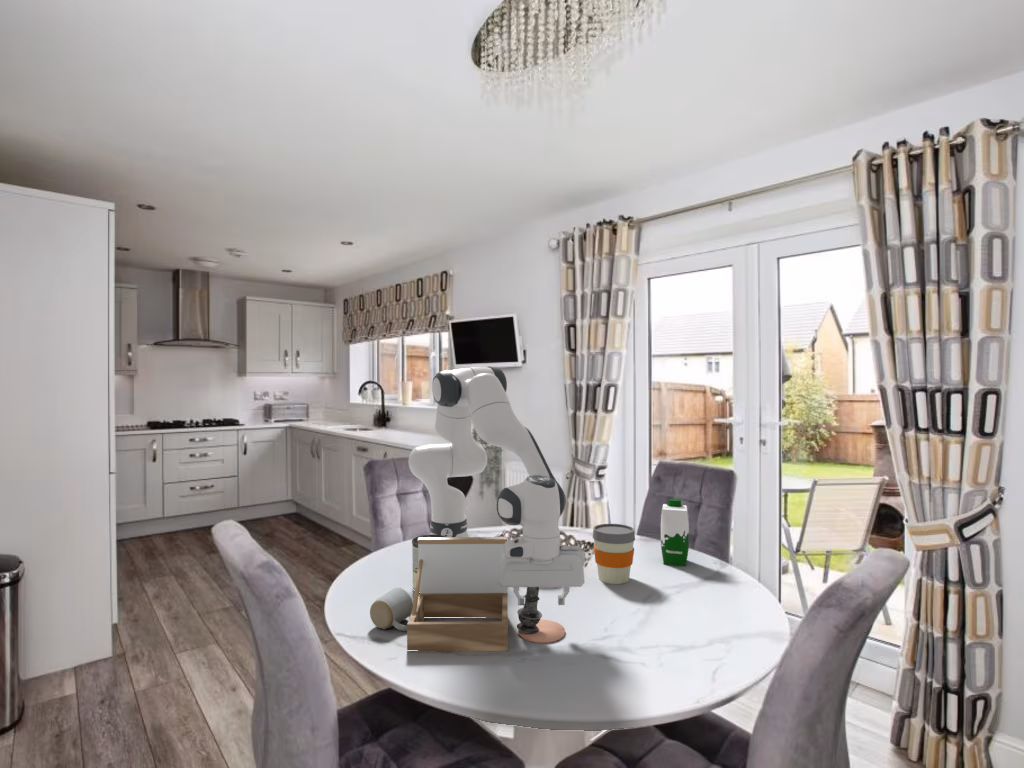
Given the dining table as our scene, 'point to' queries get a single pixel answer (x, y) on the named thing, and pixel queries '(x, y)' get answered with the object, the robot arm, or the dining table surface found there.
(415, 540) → the coffee can
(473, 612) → the cold frame
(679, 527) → the milk carton
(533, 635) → the glossy peach disc
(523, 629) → the dark grey turned piece
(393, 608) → the ceramic mug
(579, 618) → the dining table surface
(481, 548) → the propped lid
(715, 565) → the dining table surface
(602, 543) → the reusable coffee cup
